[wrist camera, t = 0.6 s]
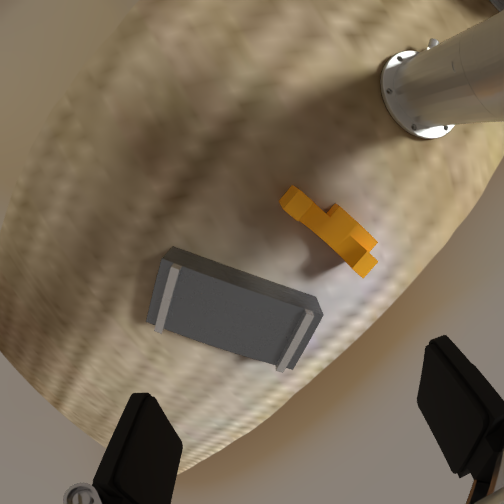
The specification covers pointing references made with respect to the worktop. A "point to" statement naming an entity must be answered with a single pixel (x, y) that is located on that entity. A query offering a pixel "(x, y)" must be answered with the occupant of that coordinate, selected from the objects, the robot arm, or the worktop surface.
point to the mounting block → (232, 309)
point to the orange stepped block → (333, 229)
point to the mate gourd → (498, 4)
